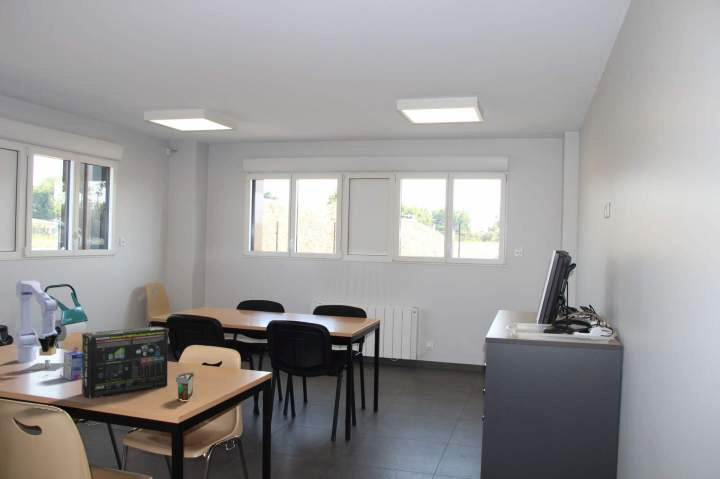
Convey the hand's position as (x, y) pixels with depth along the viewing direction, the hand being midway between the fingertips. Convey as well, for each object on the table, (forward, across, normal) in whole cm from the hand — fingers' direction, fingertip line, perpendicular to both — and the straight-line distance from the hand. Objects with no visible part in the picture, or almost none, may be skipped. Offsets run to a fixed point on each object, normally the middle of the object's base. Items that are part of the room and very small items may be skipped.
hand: (47, 350), depth 290 cm
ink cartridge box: (+10, -16, -18) cm, 26 cm away
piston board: (+10, +3, +2) cm, 11 cm away
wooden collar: (+2, 0, 0) cm, 2 cm away
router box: (+10, -39, -49) cm, 63 cm away
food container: (+10, -54, -77) cm, 95 cm away
